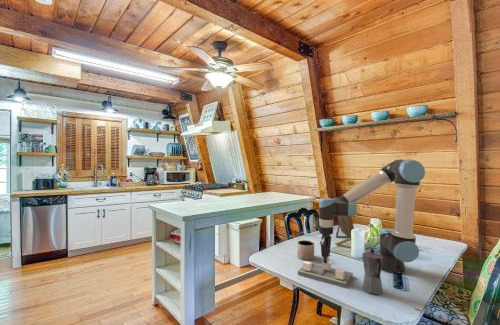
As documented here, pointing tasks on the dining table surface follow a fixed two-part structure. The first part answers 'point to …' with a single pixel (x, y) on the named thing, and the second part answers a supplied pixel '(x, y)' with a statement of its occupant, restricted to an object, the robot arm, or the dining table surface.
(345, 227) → the photo frame
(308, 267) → the block
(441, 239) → the dining table surface
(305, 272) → the switch board
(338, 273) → the block
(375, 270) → the moka pot
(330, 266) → the block
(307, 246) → the planter
